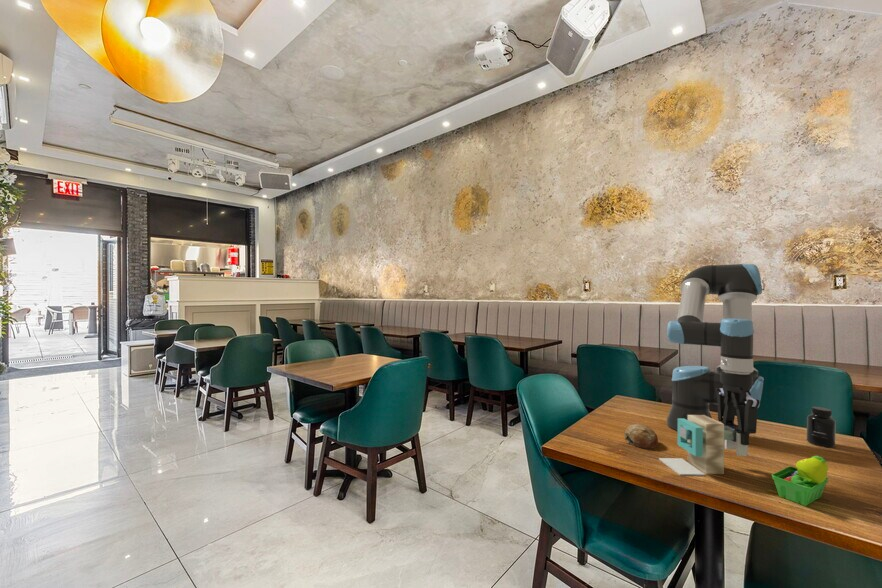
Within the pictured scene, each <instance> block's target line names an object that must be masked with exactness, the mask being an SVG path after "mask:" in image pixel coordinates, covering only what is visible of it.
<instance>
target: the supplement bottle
mask: <svg viewBox="0 0 882 588" xmlns="http://www.w3.org/2000/svg"><path fill="white" fill-rule="evenodd" d="M832 412H833V411H832V409H830V408H826V407H821V406H812V407H811V413H810V414H808V415H807V417H806V441H807V442H808V443H810V444H811V445H814V444H815V446H818V445H819V446H818V447H822V446H824V448H834V447H835V446H836V431H837V429H836V428H837V425H836V423H837V421H836V420H835V419H834V418H832V416H833V413H832Z"/></svg>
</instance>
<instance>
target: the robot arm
mask: <svg viewBox="0 0 882 588" xmlns="http://www.w3.org/2000/svg"><path fill="white" fill-rule="evenodd" d="M758 267H759V266H757V265H756V264H752V263H738V264H735V263H734V264H715V265H714V264H713V265H712V264H708V265H704V266H700V267H697V268H696V269H694V270H692V271H691V272H689V273H688V274H686V276H684V278H683V279H682V281H680V285H679V286H680V287H679V288H680V289H679V292H680V293H681V297H680V301H679V302H680V303H679V307H678V312H677V317H676V320H670V321H669V322H668V323H667V330H666V331H667V332H666V333H667V340H668V342H670V343H673V344H680V345H696V346H709V347H720V364H719V365H718V366H717V367H716V371H711V369H710V367H708V366H705V365H702V366H701V365H685V366H678V367H677V366H676V367H674V369H672V378H671V381H672V384H671V385H672V388H671V389H672V391H671V394H672V395H671V396H672V397H671V407H670V410H669V413H668V415H667V417H666V426H667V427H669V428H670V429H672V430H675V431H677V432H678V418H684V419H686V420H688V415H705V416H707V417H710V418H712V414H711V412H710V404H711V405H716V406H717V421H718V422H720V423H723V424H724V427H725V425H736V424H735V422H734V421H735V417H736V420H737V425H738V429H739V431H736V442H734V441H732V440H724V450H735V452H736V453H735V454H736V456H739V457H744V456H745V457H746V456H749V453H748V452H749V445H750V434H753V435H754V434H757V425H758V408H759V407H760V405H761V399H762V394H763V388H764V380H765V379H764V377H763V376H761V375H759V370H758V369H756V368H755V367H754V333H755V330H754V323H753V311H752V310H753V307H752V305H753V302H755V301H756V300H758V296H759V295H762V294H763V286H762V276H761V273H760V270H759V269H760V268H758ZM708 295H717V299H718V300H719V301H721V302H722V319H721V320H720V322H708V321H705V322H704V315H705V314H704V313H705V305H706V297H707V296H708ZM712 419H713V418H712Z"/></svg>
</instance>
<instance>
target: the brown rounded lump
mask: <svg viewBox="0 0 882 588" xmlns="http://www.w3.org/2000/svg"><path fill="white" fill-rule="evenodd" d="M624 440H625V441H626V444H629V445H632V446H633V447H634V446H635V447H637V448H640V449H654V448H656V447H657V445H658V443H659V438H658V435H657V434H656V432H655V431H654V430H653V429H652V428H651V427H649V426H647V425H645V424H639V423H635V424H630V425H629V426H627V427H626V429H625V431H624Z"/></svg>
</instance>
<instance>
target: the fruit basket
mask: <svg viewBox="0 0 882 588" xmlns="http://www.w3.org/2000/svg"><path fill="white" fill-rule="evenodd" d="M828 470H829V465H828V463H827V461H826V459H824V457H822V456H819V455H813V456H811V457H809V458H805V459H800V460H798V461H797V462H796V463H795V467H794V466H787V467H785V468H783V469H781V470H779V471H776V472H774V473H772V474H771V477H772V480H774V481H773V482H774V484H775V487H776V488H775V489H776V491H777V493H778V496H779V497H780V498H784V499H786V500H788V501H791V502H794V503H795V504H799V505H801V506H804V507H807V506H808V505H810V504H812V503H813V502H815V501H816V500H818V499H820V498H821V497H822V495H823V493H824V490H825V487H826V484H827V483H828V482H829V480H830V479H829V478H828Z"/></svg>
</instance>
